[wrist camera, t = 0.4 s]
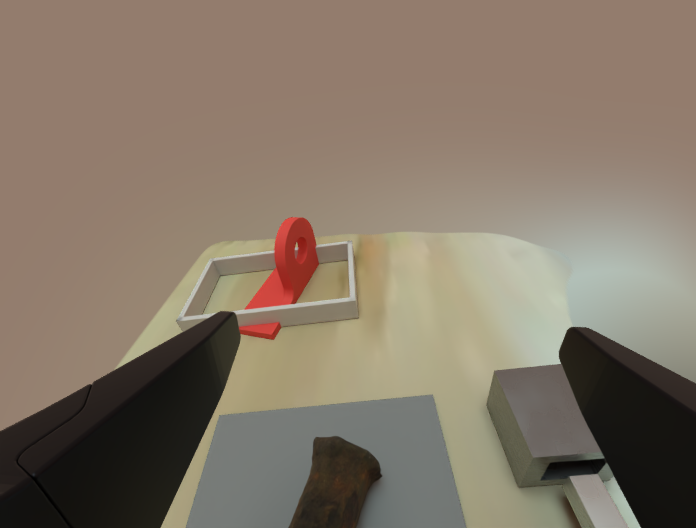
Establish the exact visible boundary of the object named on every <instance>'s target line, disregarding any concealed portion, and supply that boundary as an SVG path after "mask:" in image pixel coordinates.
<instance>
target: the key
mask: <svg viewBox="0 0 696 528" xmlns="http://www.w3.org/2000/svg"><path fill="white" fill-rule="evenodd" d="M562 488H563V490H564V492H565V494H566V496H567V498H568V500H569V503H570V505H571V507H572V509H573V511H574V513H575V515H576V517H577V519H578V521H579V523H580V525H581V527H582V528H628V526H627V524H626V522H625V521H624V519H623V517H622V515H621V514H620V512H619V510H618V508H617V507H616V505H615V503H614V501H613V500H612V498H611V496H610V494H609V493H608V491H607V489H606V487H605V486H604V484H603V482H602V480H601V479H600V477H599V475H598V474H592V475H579V476H569V477H568V479H567V480H566V481H565V483H564V484H563V486H562Z"/></svg>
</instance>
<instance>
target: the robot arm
mask: <svg viewBox="0 0 696 528" xmlns="http://www.w3.org/2000/svg"><path fill="white" fill-rule="evenodd" d="M240 338H241V336H240V330H239V325H238V320H237V316H236V314H235V313H234V312H229V311H220V312H218V313H216V314H214V315H213V316H211V317H209V318H207V319H205V320H204V321H202V322H200V323H198V324H196V325H195V326H193V327H191V328H189V329H187V330H186V331H184V332H182V333H180V334H178V335H177V336H175V337H173V338H171V339H170V340H168V341H166V342H164V343H162V344H161V345H159V346H157V347H155V348H153V349H152V350H150V351H148V352H146V353H144V354H143V355H141V356H139V357H137V358H135V359H134V360H132V361H130V362H128V363H126V364H125V365H123V366H121V367H119V368H118V369H116V370H114V371H112V372H110V373H109V374H107V375H105V376H103V377H101V378H100V379H98V380H96V381H94V382H93V384H92V385H91V384H89V385H87V386H85V387H83V388H82V389H80V390H78V391H76V392H74V393H73V394H71V395H69V396H67V397H66V398H63V399H62V400H60V401H58V402H56V403H54V404H52V405H51V406H49V407H47V408H45V409H43V410H41V411H39V412H37V413H36V414H33V415H31V416H29V417H27V418H25V419H23V420H21V421H19V422H18V423H15V424H14V425H12V426H10V427H8V428H6V429H4V430H2V431H0V528H161V525H162V523H163V521H164V519H165V517H166V515H167V512H168V510H169V508H170V506H171V504H172V502H173V500H174V497H175V495H176V493H177V491H178V489H179V487H180V484H181V482H182V480H183V478H184V476H185V474H186V471H187V469H188V467H189V465H190V463H191V461H192V459H193V456H194V454H195V452H196V450H197V448H198V446H199V443H200V441H201V439H202V437H203V435H204V433H205V430H206V428H207V426H208V424H209V422H210V420H211V418H212V415H213V413H214V411H215V409H216V407H217V405H218V402H219V400H220V398H221V396H222V393H223V391H224V388H225V386H226V383H227V380H228V377H229V374H230V371H231V368H232V365H233V362H234V359H235V356H236V353H237V350H238V347H239V344H240ZM559 359H560V362H561V364H562V367H563V369H564V372H565V374H566V377H567V379H568V382H569V384H570V387H571V389H572V392H573V394H574V397H575V399H576V402H577V404H578V407H579V409H580V411H581V413H582V416H583V418H584V420H585V422H586V424H587V426H588V428H589V429H590V431H591V433H592V435H593V437H594V439H595V441H596V443H597V445H598V447H599V448H600V450H601V452H602V454H603V456H604V458H605V460H606V462H607V464H608V466H609V468H610V469H611V471H612V473H613V475H614V477H615V479H616V481H617V483H618V485H619V487H620V489H621V490H622V492H623V494H624V496H625V498H626V500H627V502H628V504H629V506H630V508H631V509H632V511H633V513H634V515H635V517H636V519H637V521H638V523H639V525H640V527H641V528H696V384H695V383H694V382H692V381H690V380H688V379H686V378H684V377H682V376H680V375H678V374H676V373H674V372H672V371H671V370H669V369H667V368H665V367H663V366H661V365H659V364H657V363H655V362H653V361H651V360H649V359H647V358H645V357H644V356H642V355H640V354H638V353H636V352H634V351H632V350H630V349H628V348H626V347H624V346H622V345H620V344H619V343H616V342H615V341H613V340H611V339H609V338H607V337H605V336H603V335H601V334H599V333H597V332H595V331H593V330H591V329H589V328H586V327H571V328H569V329H568V330H567V332H566V334H565V337H564V340H563V342H562V345H561V347H560V350H559Z"/></svg>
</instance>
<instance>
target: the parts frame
mask: <svg viewBox="0 0 696 528" xmlns="http://www.w3.org/2000/svg"><path fill="white" fill-rule="evenodd" d="M315 249H316V253H317V257H318V261H319V263H327V262H335V261H343V260H348V263H349V286H350V297H349V298H341V299H332V300H324V301H315V302H307V303H298V304H290V305H281V306H273V307H264V308H256V309H247V310H238V311H230V312H234V313H235V314H236V316H237V320H238V325H239V327H242V326H250V325H259V324H267V323H276V322H279V323H280V325H281V327H284V326H292V325H301V324H310V323H319V322H328V321H337V320H345V319H354V318H359V317H358V303H357V289H356V274H355V260H354V251H353V245H352V241H345V242H337V243H329V244H321V245H316V247H315ZM297 254H298V248H295V258H296V257H297ZM275 268H276V264H275V256H274V251H267V252H259V253H251V254H243V255H235V256H228V257H220V258H212V259H209V261H208V263H207V265H206V267H205V269H204V271H203V272H202V274H201V276H200V278H199V280H198V282H197V284H196V285H195V287H194V289H193V291H192V293H191V295H190V297H189V298H188V300H187V302H186V304H185V306H184V308H183V310H182V311H181V313H180V315H179V317H178V319H177V321H176V322H177V324H178V325H179V327H180V328H181V330H182V331H183V332H184V331H186V330H187V329H189V328H191V327H193V326H195V325H196V324H198V323H200V322H202V321H204V320H205V319H207V318H209V317H211V316H213V315H214V314H216V313H213V314H204V315H202V313H203V311H204V309H205V307H206V305H207V303H208V300H209V298H210V296H211V294H212V292H213V290H214V288H215V285H216V283H217V281H218V279H219V277H220V276H222V275H230V274H238V273H246V272H254V271H262V270H270V269H275Z"/></svg>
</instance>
